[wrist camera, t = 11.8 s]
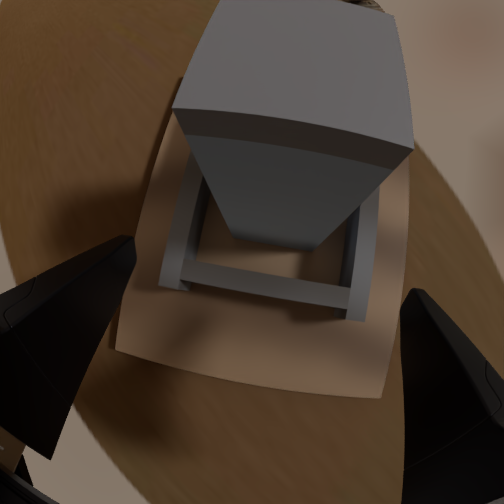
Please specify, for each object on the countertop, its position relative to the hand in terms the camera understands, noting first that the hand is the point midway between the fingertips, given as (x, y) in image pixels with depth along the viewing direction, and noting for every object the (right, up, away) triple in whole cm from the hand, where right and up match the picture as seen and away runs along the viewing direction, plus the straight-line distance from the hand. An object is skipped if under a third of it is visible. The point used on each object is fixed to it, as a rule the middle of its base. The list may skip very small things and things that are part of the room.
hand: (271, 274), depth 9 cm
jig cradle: (+1, +3, +9) cm, 9 cm away
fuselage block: (+1, +3, +8) cm, 9 cm away
